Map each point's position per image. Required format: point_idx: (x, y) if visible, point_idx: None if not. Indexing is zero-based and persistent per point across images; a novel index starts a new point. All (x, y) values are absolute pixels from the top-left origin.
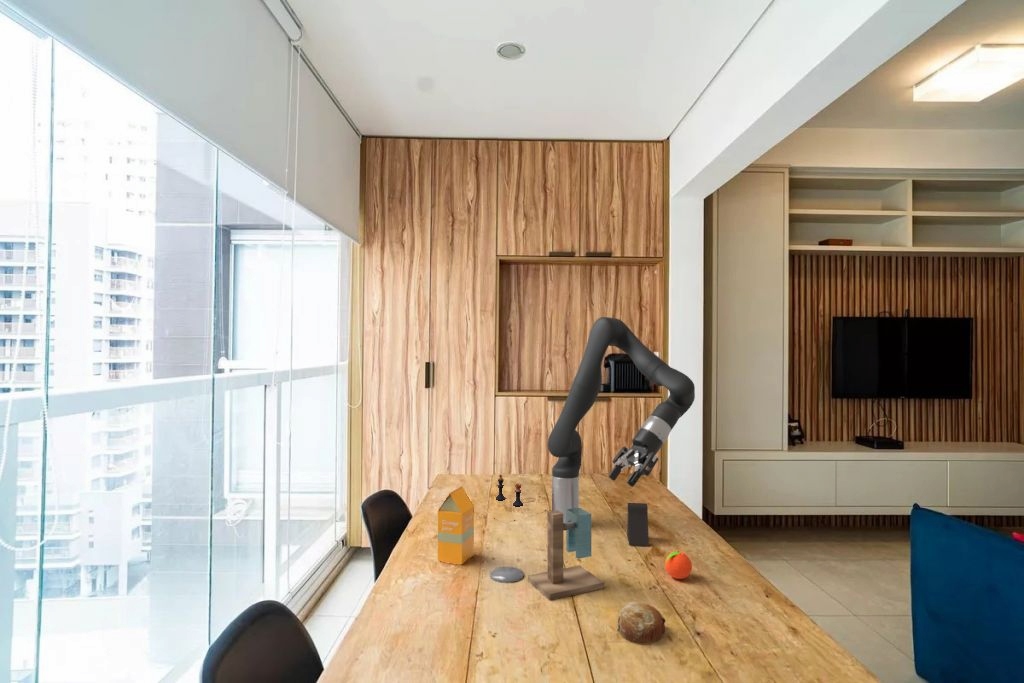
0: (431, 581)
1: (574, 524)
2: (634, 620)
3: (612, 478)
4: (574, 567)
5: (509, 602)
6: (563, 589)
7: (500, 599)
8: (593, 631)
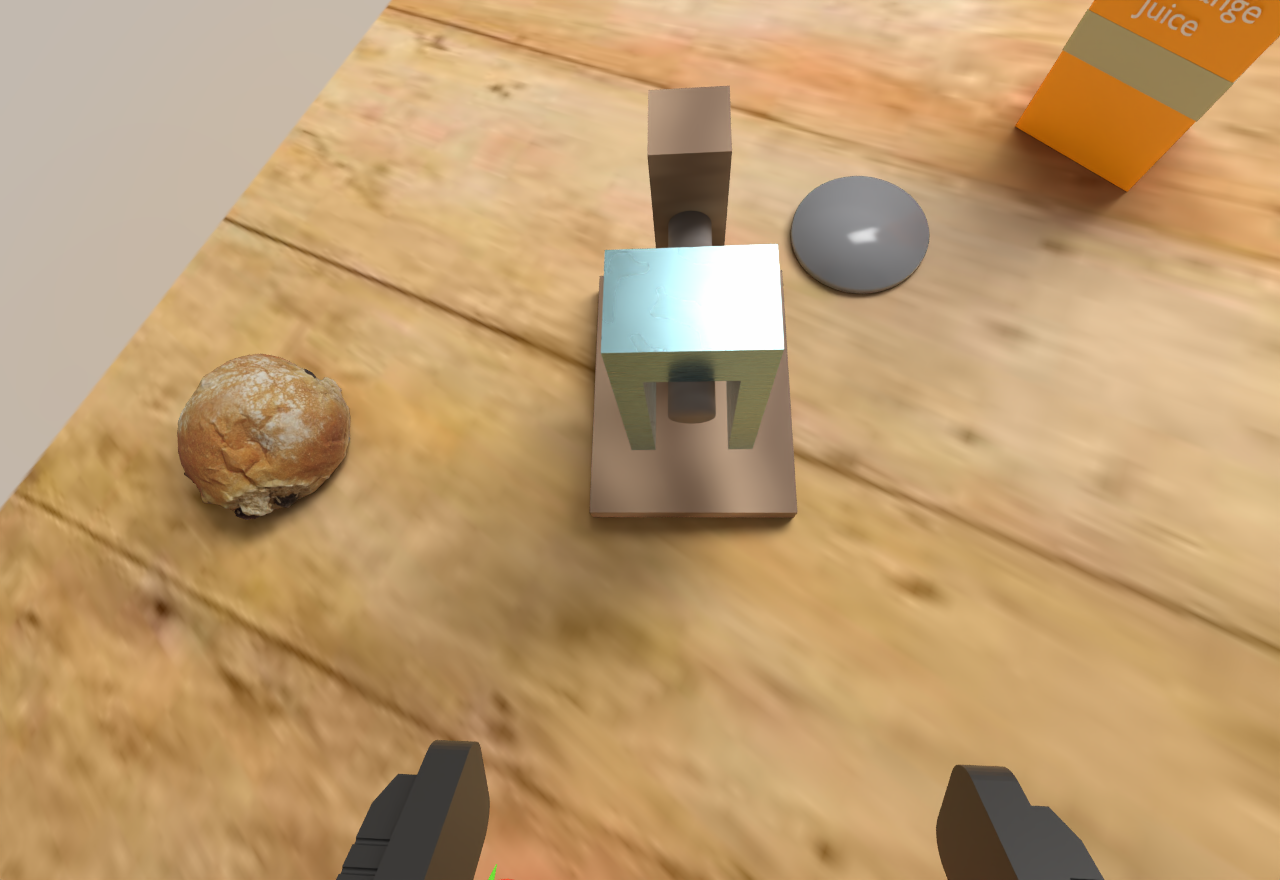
0: (900, 21)
1: None
2: (216, 368)
3: (947, 812)
4: (783, 477)
5: None
6: None
7: None
8: (368, 316)
